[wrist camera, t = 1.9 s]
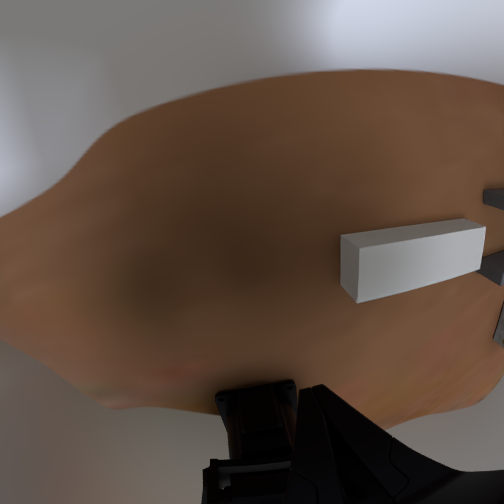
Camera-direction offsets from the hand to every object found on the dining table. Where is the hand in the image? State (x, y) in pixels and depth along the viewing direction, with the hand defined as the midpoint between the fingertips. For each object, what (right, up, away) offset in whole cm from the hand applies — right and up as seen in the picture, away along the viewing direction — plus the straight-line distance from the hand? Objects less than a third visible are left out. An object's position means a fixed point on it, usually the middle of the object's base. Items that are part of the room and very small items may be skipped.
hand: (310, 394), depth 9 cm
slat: (+10, +5, +10) cm, 15 cm away
